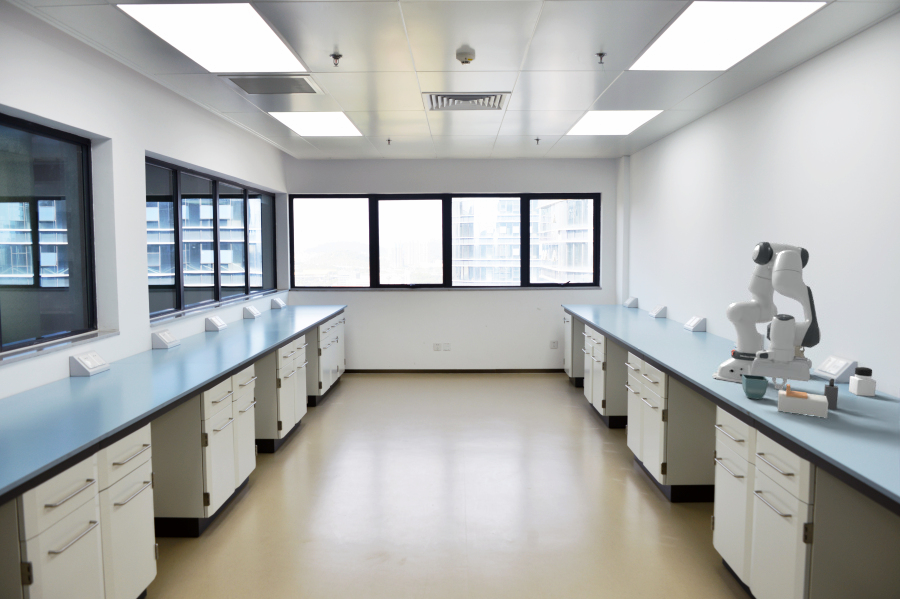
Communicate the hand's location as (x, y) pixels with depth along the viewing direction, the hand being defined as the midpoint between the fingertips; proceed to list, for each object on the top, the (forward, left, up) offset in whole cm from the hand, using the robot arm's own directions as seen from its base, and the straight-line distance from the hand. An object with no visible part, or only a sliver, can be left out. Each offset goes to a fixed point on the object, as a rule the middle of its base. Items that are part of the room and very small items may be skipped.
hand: (778, 388), depth 217 cm
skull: (+5, +77, -8) cm, 78 cm away
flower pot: (-9, +12, -8) cm, 17 cm away
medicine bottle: (+32, +47, -8) cm, 58 cm away
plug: (+18, +12, -8) cm, 23 cm away
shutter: (+6, 0, -2) cm, 6 cm away
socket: (+8, 0, -8) cm, 11 cm away
